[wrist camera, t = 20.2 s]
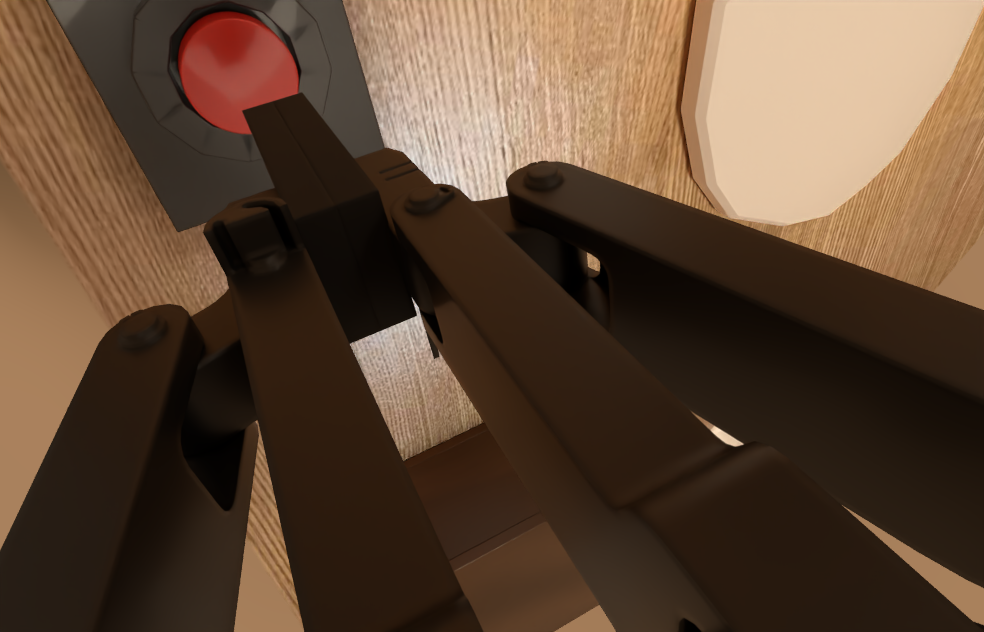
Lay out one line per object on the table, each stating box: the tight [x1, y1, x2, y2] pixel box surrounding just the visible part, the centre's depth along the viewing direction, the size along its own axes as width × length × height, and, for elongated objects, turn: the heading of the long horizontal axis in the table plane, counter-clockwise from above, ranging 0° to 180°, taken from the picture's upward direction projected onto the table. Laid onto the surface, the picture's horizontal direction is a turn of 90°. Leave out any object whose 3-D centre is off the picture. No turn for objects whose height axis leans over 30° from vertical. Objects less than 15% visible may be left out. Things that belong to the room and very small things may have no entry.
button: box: [178, 11, 299, 134], centre depth 23 cm, size 4×4×2 cm
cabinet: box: [404, 423, 599, 632], centre depth 46 cm, size 15×13×10 cm
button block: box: [46, 0, 385, 232], centre depth 24 cm, size 10×12×4 cm
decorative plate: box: [681, 0, 984, 226], centre depth 39 cm, size 25×4×25 cm
